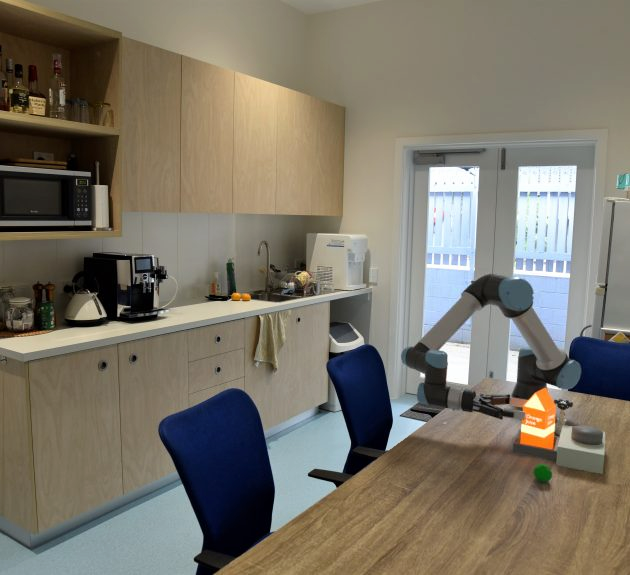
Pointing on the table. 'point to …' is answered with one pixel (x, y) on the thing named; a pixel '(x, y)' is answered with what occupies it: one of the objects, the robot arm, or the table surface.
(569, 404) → the valve
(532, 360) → the robot arm
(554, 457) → the grey boxy fixture
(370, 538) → the table surface
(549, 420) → the orange juice
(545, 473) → the polyhedron
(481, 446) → the table surface
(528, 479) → the table surface
